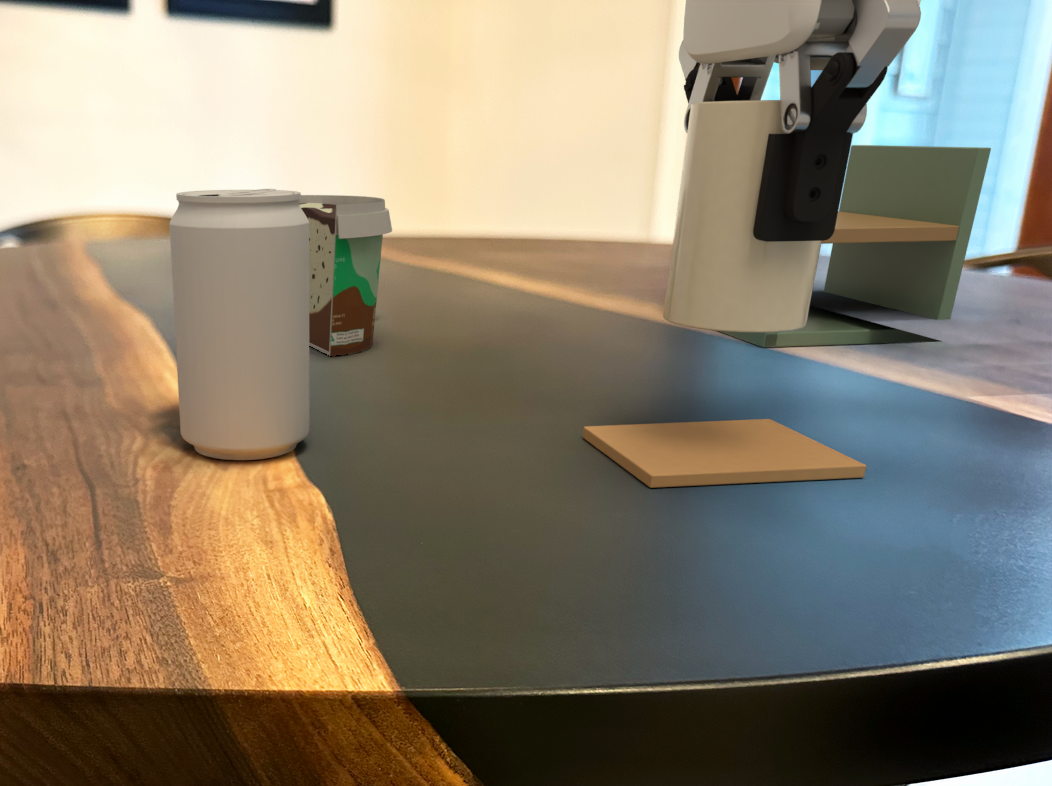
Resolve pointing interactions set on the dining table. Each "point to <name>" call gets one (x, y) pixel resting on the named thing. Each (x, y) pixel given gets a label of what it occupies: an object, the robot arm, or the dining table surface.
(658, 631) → the dining table surface
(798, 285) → the cream cylinder
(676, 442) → the mat
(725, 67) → the robot arm
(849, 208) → the rack
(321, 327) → the food container
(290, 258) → the beverage can
